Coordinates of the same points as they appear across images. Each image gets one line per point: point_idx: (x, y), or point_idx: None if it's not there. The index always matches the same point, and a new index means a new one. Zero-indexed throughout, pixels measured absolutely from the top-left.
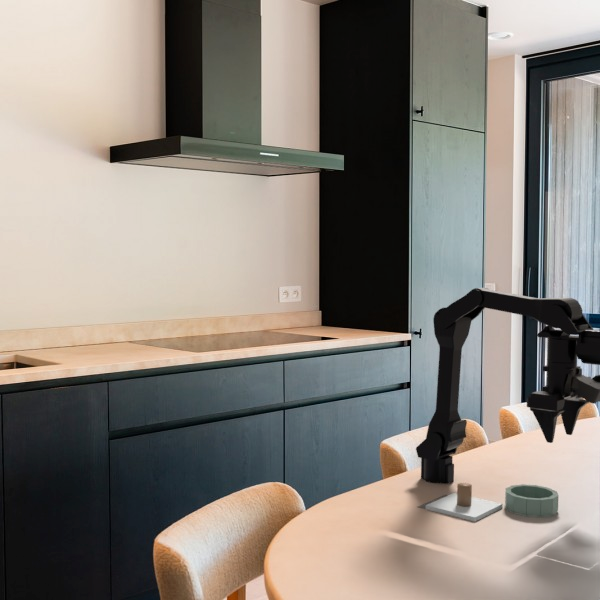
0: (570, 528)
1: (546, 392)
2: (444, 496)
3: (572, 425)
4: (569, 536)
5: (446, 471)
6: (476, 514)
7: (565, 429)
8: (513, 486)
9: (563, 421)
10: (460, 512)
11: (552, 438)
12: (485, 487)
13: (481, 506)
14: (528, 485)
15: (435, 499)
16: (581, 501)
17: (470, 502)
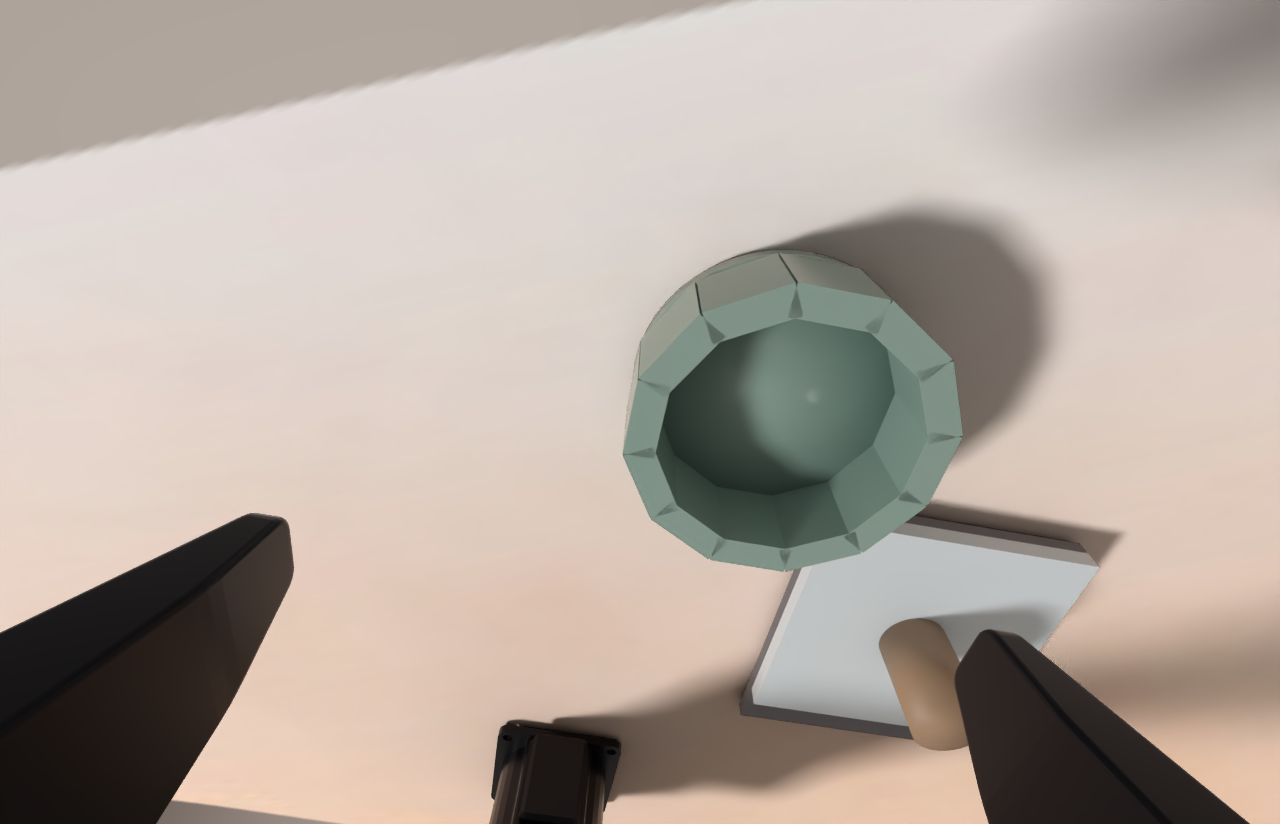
0: (976, 119)
1: None
2: (768, 712)
3: (161, 635)
4: (1142, 88)
5: (582, 799)
6: (1049, 572)
7: (256, 648)
8: (722, 548)
9: (153, 812)
10: (1038, 626)
11: (1081, 686)
12: (486, 630)
13: (914, 583)
14: (656, 489)
15: (826, 725)
16: (380, 180)
17: (931, 632)
